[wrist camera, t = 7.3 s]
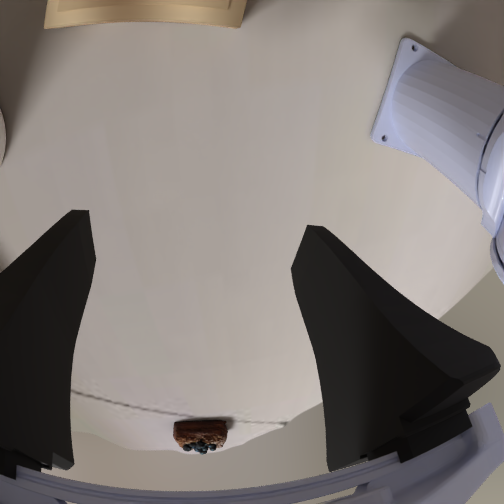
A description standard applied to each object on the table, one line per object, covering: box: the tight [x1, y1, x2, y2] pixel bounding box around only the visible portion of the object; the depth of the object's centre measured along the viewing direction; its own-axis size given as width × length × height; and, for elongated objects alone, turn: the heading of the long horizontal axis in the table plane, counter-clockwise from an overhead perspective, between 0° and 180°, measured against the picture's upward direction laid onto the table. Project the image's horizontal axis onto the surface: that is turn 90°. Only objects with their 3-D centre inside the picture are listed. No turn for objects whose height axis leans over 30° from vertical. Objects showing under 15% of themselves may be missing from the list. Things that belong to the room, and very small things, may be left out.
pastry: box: [173, 420, 228, 454], centre depth 51 cm, size 11×12×6 cm
